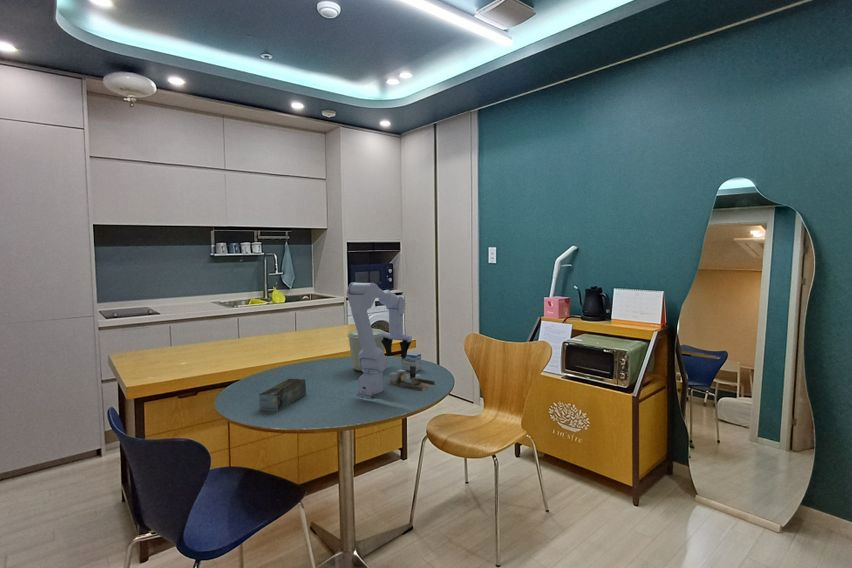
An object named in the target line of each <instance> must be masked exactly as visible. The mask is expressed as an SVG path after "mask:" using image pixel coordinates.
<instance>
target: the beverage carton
mask: <svg viewBox="0 0 852 568" xmlns="http://www.w3.org/2000/svg"><path fill="white" fill-rule="evenodd" d="M305 394H306V395H307V387H306V379H305V378H304V379H303V378H302V379H300V378H299V379H298V378H288V379H285V380H283V381H282V382H280V383H278V384H276V385H275V386H273V387H270V388H269V389H267V390H265V391H264V392H263V391H262V393H259V394H258V397H259V400H258V402H259V409H263V410H262V411H267V410H273V411H272V412H277V411H278V412H280V411H281V410H283V409H284V407H285V408H286V406H287V405H288V406H290V405H291V404H292V402H293V403H295V402H296V401H297V400H299V399H301V398H302V397H304V396H305ZM290 403H291V404H290ZM289 404H290V405H289ZM288 406H287V407H288ZM282 408H283V409H282ZM279 410H280V411H279Z"/></svg>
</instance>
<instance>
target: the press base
mask: <svg viewBox="0 0 852 568" xmlns="http://www.w3.org/2000/svg"><path fill="white" fill-rule="evenodd" d="M406 371H407V370H402V368H401V369H397V370H394V371H393V372H390V373H389V382H387V383H385V384H386V385H390V386H395V387H399V388H404V389H411V390H416V391H420V392H423V391H425V390H427V389H429V388H431V387H433V386H435V385H436V383H435V382H436V381H435V380H431V379H427V378H421V382H420V383H417V384H415V385H409V384H404V383H401V375H403V374H407V373H406Z"/></svg>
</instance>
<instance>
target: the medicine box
mask: <svg viewBox="0 0 852 568" xmlns="http://www.w3.org/2000/svg"><path fill="white" fill-rule="evenodd" d="M410 366H416V373H417V372H418V371H420V370H422V354H421V353H415V352H408V351H407V355H406V358H404V359H402V358H401V370H406V371H409V372H410Z"/></svg>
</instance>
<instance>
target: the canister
mask: <svg viewBox="0 0 852 568" xmlns="http://www.w3.org/2000/svg"><path fill="white" fill-rule="evenodd" d="M371 328H372V331H373V335H374V339H375V343H376V346H377V347H378V348H380V349H381V350H382V351H383V353H384V354H385V348H384V345H383V344H382V342H381V340H383V339H382V338H381V334H383V333H387V332H386V331H384V330H382V329H379V328H373V327H371ZM346 336H347V337H348V342H349V347H350V348H349V349H350V356H351V362H352V366H353V368H354V369H355V371H358V372H362V369H361V368H360V367H359V358H358V354H359V352H360V351H361V350H362V346H361V343H360V339H359V336H358V333H357V329H354V330H351V331H350V332H348V333H347V335H346Z"/></svg>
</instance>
